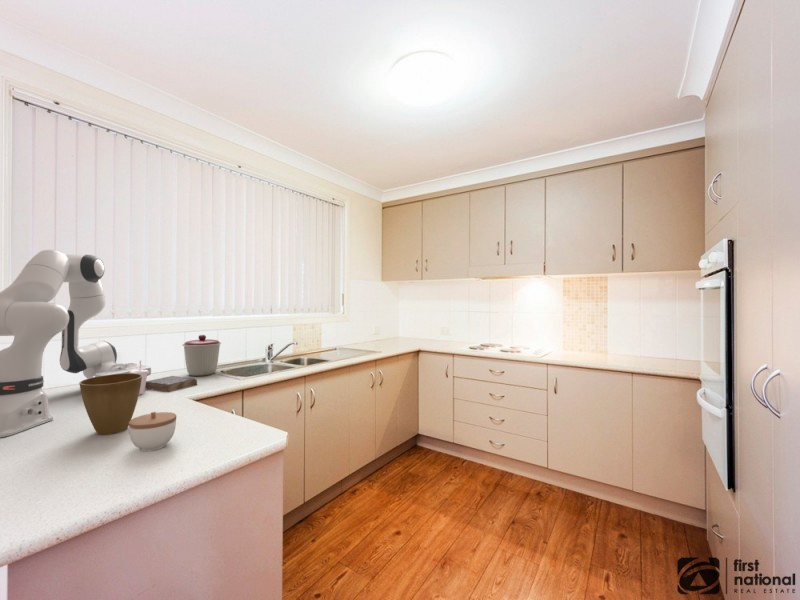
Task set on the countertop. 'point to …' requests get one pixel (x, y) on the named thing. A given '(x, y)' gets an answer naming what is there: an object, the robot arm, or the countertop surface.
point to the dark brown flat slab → (170, 383)
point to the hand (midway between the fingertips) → (136, 376)
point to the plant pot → (111, 401)
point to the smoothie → (144, 377)
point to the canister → (201, 356)
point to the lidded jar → (152, 430)
